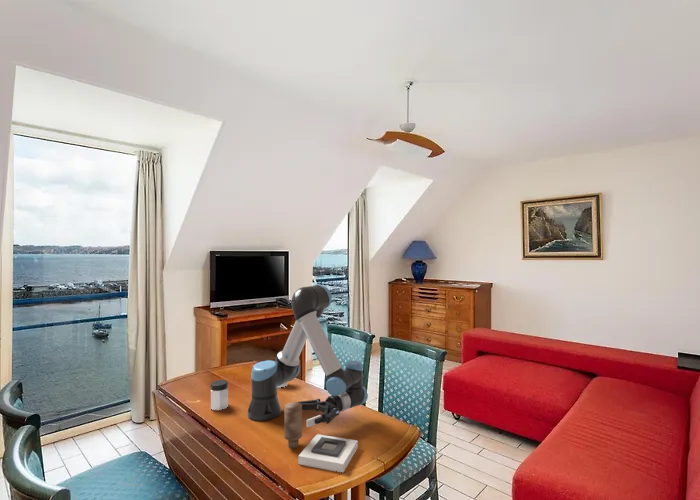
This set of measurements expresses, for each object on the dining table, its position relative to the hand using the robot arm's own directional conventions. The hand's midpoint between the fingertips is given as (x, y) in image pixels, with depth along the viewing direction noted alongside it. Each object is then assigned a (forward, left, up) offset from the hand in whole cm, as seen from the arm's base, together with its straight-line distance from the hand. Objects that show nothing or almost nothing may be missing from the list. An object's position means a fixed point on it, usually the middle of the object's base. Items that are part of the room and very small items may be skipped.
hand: (296, 417), depth 150 cm
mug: (-39, +55, -11) cm, 69 cm away
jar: (-52, +21, -11) cm, 58 cm away
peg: (-1, -1, -11) cm, 11 cm away
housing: (+15, -3, -11) cm, 19 cm away
